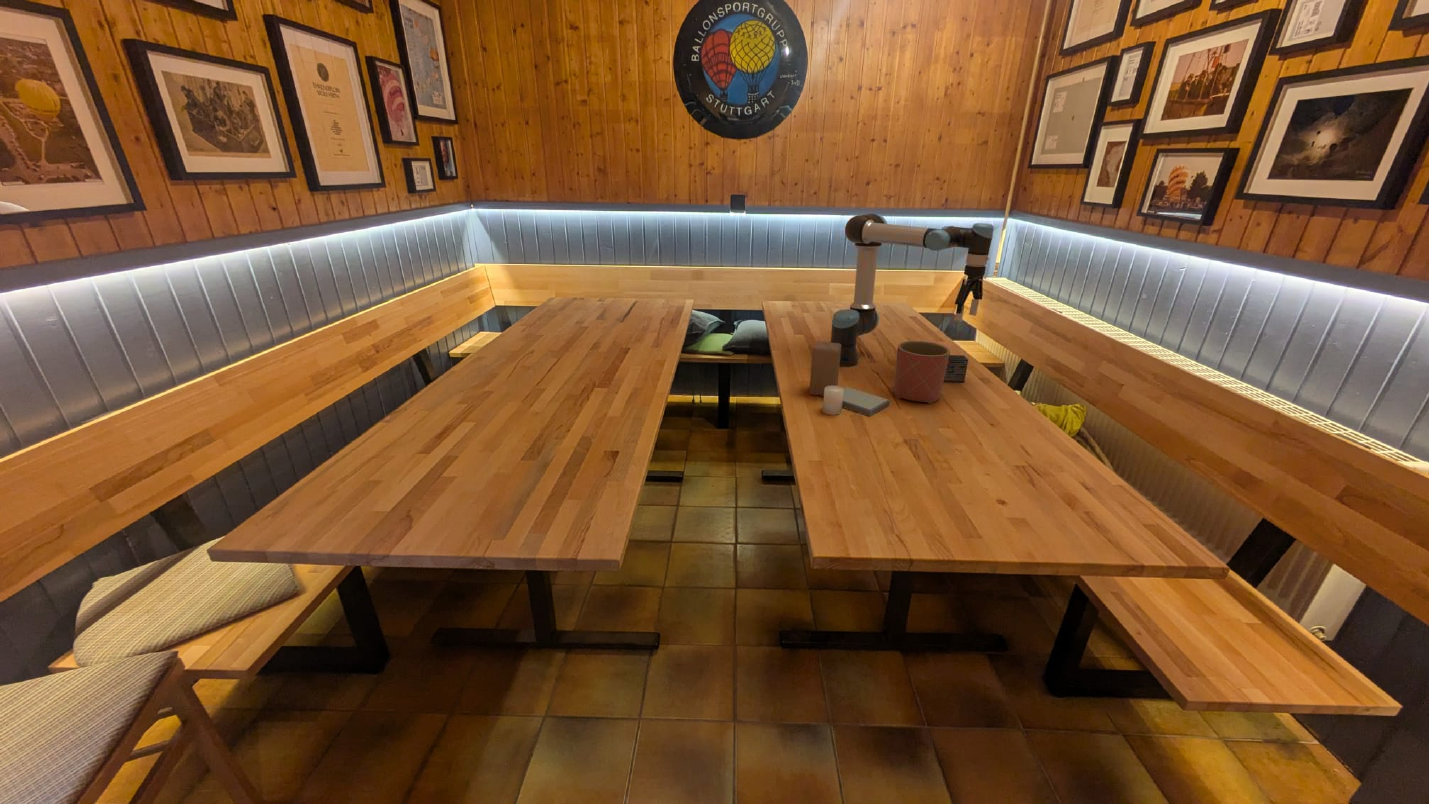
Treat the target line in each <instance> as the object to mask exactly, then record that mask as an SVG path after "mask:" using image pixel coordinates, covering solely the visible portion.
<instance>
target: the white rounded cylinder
mask: <svg viewBox="0 0 1429 804" xmlns="http://www.w3.org/2000/svg"><path fill="white" fill-rule="evenodd" d="M844 389H845V388H843V386H838V385H837V386H827V387H825V389H824V396H823V402H822V412H823V411H824V412H826V413H828V414H839V413H841V412H843V407H842V404H843V394H844ZM824 412H823V413H824ZM828 414H827V415H828ZM841 414H842V413H841ZM839 415H840V414H839Z"/></svg>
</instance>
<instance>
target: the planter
mask: <svg viewBox="0 0 1429 804" xmlns="http://www.w3.org/2000/svg"><path fill="white" fill-rule="evenodd" d="M949 355H951V350H950V349H949V348H948V347H947V346H945V345H944V344H939V343H937V342H932V341H925V340H924V341H923V340H908V341H903V342H900V343H899V344H898V345H897V352H896V361H895V368H894V369H895V370H894V380H893V390H892V391H893V393H894V396H895V397H896V398H897V399H898V400H899V399H900V400H901V399H904V400H908V401H913V402H920V403H922V402H923V403H924V402H925V403H927V404H928V405H929V404H930V405H931V404H933V403H935V402H937V401H938V400H939V399H940V398H941V393H942V389H943V386H944V382H943V381H944V377H945V373H946V368H947V364H948V359H949Z"/></svg>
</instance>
